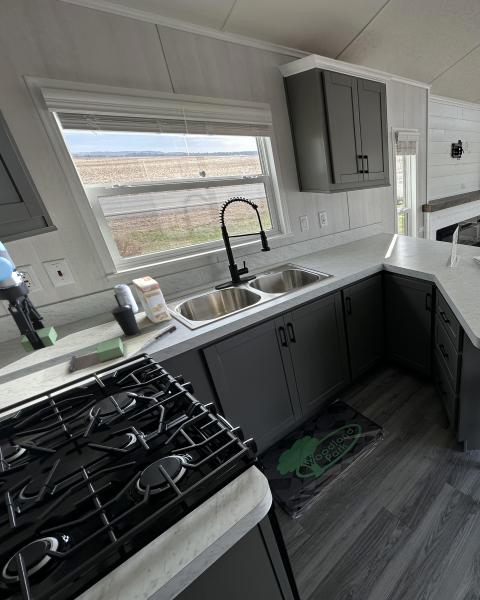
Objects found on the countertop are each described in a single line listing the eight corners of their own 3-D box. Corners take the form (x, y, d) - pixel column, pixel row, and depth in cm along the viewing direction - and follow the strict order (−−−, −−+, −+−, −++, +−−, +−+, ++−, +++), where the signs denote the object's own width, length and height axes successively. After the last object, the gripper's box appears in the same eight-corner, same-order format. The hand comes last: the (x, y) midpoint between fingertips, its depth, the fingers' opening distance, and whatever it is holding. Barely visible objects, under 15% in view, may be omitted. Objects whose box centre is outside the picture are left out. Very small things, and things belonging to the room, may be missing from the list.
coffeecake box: (172, 319, 159) (158, 282, 151) (155, 325, 154) (140, 287, 146) (162, 310, 168) (148, 275, 160) (146, 316, 163) (131, 280, 155)
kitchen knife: (175, 329, 150) (173, 325, 149) (176, 329, 150) (175, 325, 149) (140, 351, 134) (138, 347, 133) (142, 352, 134) (140, 347, 133)
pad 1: (26, 352, 113) (20, 342, 111) (31, 342, 119) (25, 332, 117) (54, 345, 116) (48, 335, 115) (57, 335, 123) (52, 326, 121)
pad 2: (100, 361, 126) (96, 353, 125) (102, 351, 133) (97, 343, 131) (123, 354, 130) (119, 346, 128) (123, 345, 137) (119, 337, 135)
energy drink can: (141, 309, 170) (130, 283, 164) (134, 315, 165) (122, 287, 158) (130, 310, 170) (118, 283, 164) (121, 315, 165) (109, 288, 158)
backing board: (71, 375, 121) (68, 370, 120) (75, 361, 130) (72, 356, 129) (125, 358, 130) (122, 353, 129) (125, 346, 138) (122, 341, 137)
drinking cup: (121, 335, 147) (102, 295, 138) (142, 329, 151) (125, 289, 143) (123, 341, 142) (104, 300, 133) (144, 335, 146) (127, 294, 138)
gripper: (17, 292, 102) (52, 351, 112) (30, 274, 118) (60, 328, 128) (-19, 299, 98) (21, 360, 108) (0, 279, 114) (33, 334, 123)
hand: (42, 342), depth 118 cm, fingers closed on pad 1, 9 cm apart
